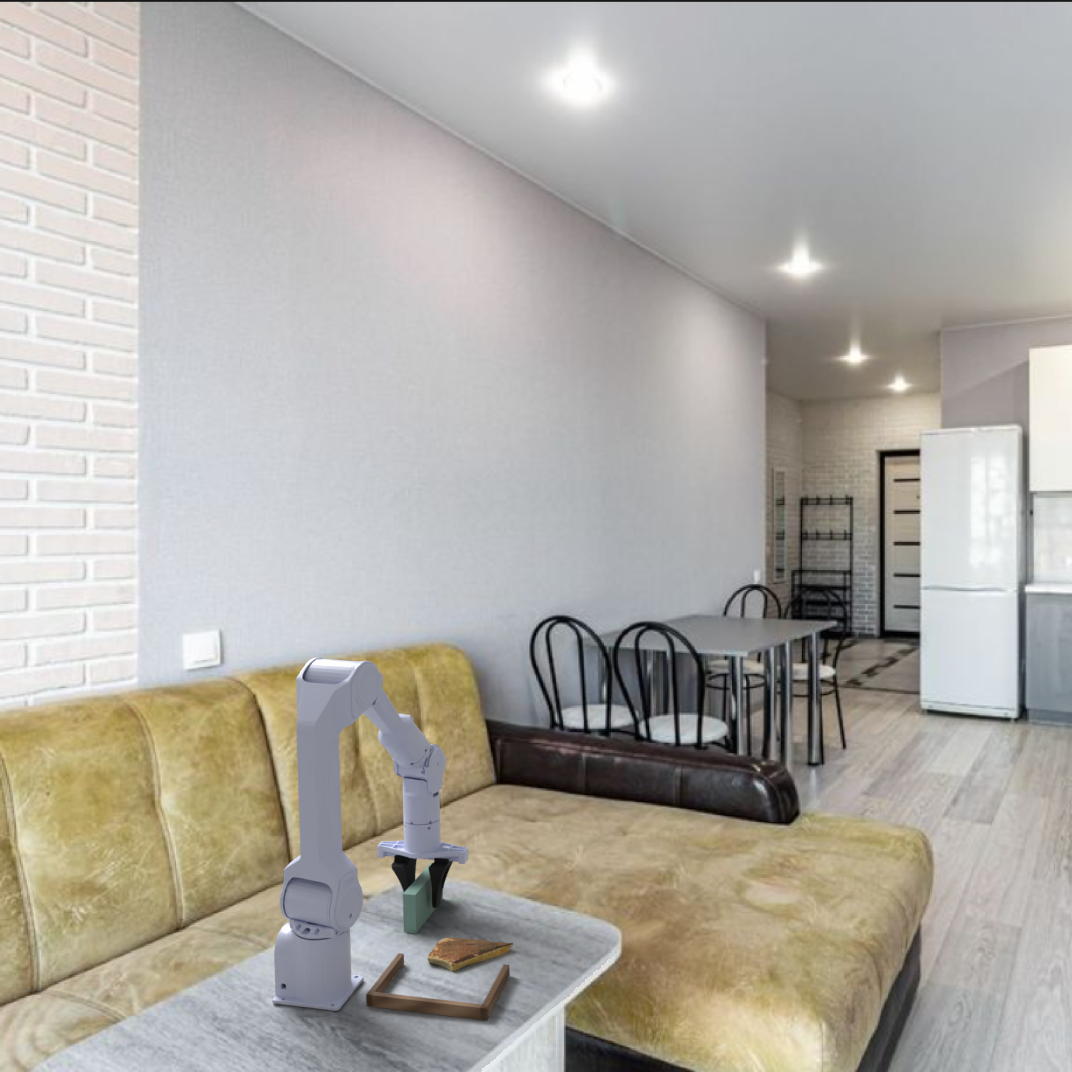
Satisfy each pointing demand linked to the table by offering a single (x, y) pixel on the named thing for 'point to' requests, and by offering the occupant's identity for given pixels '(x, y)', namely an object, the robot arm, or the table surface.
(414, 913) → the bar
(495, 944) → the shard
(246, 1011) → the table surface
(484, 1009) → the walnut frame
